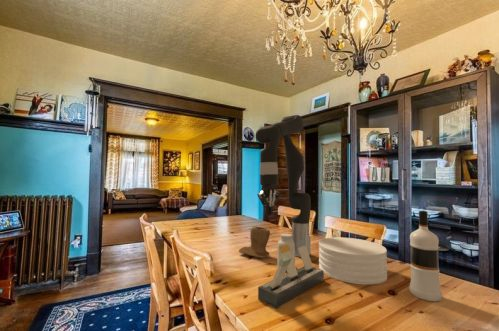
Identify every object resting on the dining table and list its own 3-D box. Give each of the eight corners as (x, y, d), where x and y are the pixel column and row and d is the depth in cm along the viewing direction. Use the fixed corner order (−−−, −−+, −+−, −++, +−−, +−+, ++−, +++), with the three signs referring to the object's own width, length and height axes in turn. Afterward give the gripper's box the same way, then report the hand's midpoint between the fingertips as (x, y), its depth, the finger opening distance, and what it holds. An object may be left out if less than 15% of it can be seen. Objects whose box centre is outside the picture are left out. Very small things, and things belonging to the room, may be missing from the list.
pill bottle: (296, 266, 110) (296, 233, 111) (292, 272, 103) (292, 237, 104) (280, 263, 113) (280, 232, 114) (274, 269, 106) (275, 235, 107)
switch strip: (258, 299, 80) (258, 286, 80) (306, 274, 101) (306, 264, 101) (276, 308, 74) (276, 294, 74) (323, 280, 95) (323, 270, 95)
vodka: (424, 303, 79) (421, 212, 80) (403, 290, 88) (401, 209, 89) (449, 302, 79) (446, 212, 81) (426, 289, 89) (424, 209, 90)
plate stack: (394, 270, 107) (393, 245, 107) (376, 292, 86) (375, 260, 87) (334, 256, 126) (333, 234, 127) (307, 270, 105) (307, 244, 106)
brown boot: (274, 255, 126) (274, 226, 127) (262, 261, 116) (262, 230, 117) (250, 249, 135) (251, 223, 136) (238, 255, 125) (238, 226, 126)
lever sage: (268, 287, 79) (280, 258, 76) (277, 283, 82) (289, 255, 79) (271, 290, 78) (284, 261, 75) (280, 286, 81) (292, 258, 78)
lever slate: (305, 271, 94) (295, 242, 98) (311, 269, 97) (301, 240, 101) (308, 271, 93) (297, 241, 97) (314, 268, 96) (303, 239, 100)
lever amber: (289, 279, 86) (278, 247, 90) (296, 276, 89) (285, 245, 94) (292, 279, 85) (281, 246, 90) (299, 275, 89) (288, 244, 93)
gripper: (271, 173, 106) (272, 212, 105) (251, 173, 96) (252, 216, 95) (285, 173, 101) (286, 214, 100) (265, 173, 91) (266, 218, 90)
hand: (269, 215), depth 98 cm, fingers closed
